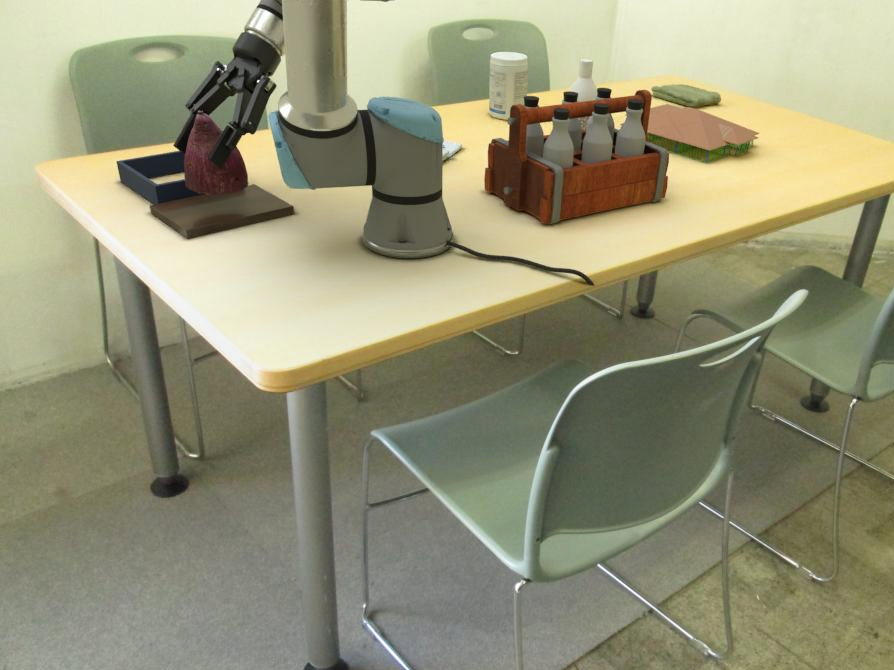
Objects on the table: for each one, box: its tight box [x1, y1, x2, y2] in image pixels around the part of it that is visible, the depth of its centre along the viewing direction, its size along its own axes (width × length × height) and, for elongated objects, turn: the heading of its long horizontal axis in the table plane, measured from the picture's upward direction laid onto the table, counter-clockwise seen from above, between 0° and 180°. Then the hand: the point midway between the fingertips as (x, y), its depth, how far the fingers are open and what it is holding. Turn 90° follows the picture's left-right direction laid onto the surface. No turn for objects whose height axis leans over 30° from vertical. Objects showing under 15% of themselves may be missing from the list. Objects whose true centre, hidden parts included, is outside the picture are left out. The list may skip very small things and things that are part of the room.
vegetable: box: [184, 111, 249, 195], centre depth 144 cm, size 10×10×15 cm
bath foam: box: [569, 58, 598, 130], centre depth 191 cm, size 7×7×20 cm
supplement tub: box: [488, 51, 529, 121], centre depth 214 cm, size 10×10×15 cm
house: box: [619, 103, 760, 164], centre depth 207 cm, size 23×33×8 cm
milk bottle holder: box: [483, 87, 670, 225], centre depth 165 cm, size 21×35×19 cm, turn 126°
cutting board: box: [149, 183, 295, 239], centre depth 151 cm, size 14×20×2 cm
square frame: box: [116, 150, 203, 205], centre depth 160 cm, size 17×17×4 cm
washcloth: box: [650, 83, 722, 108], centre depth 244 cm, size 13×18×3 cm
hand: (197, 156), depth 143 cm, fingers closed on vegetable, 8 cm apart
